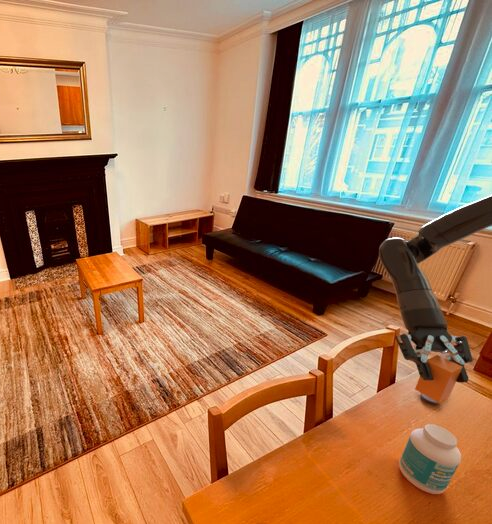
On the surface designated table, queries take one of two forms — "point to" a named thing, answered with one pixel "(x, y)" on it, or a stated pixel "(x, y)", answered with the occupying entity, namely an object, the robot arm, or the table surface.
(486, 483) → the table surface
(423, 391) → the orange rectangular block
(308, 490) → the table surface
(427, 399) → the grey oval keychain
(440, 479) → the pill bottle
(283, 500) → the table surface
